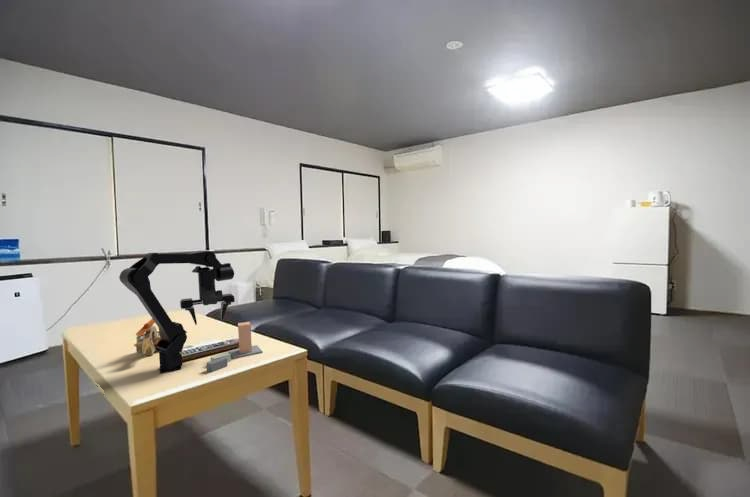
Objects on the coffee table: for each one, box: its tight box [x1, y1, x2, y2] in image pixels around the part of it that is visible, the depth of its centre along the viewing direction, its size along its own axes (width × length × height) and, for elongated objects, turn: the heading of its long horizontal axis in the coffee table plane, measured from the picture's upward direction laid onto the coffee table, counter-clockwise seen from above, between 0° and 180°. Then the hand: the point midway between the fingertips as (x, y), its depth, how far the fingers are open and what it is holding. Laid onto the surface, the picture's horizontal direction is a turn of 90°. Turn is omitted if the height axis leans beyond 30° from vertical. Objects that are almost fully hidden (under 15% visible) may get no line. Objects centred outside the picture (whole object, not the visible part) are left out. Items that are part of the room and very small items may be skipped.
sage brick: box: [210, 352, 232, 363], centre depth 130 cm, size 6×3×3 cm, turn 141°
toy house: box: [135, 318, 161, 357], centre depth 139 cm, size 8×21×14 cm, turn 18°
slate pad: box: [228, 345, 263, 360], centre depth 141 cm, size 11×9×1 cm
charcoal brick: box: [206, 357, 228, 373], centre depth 125 cm, size 6×3×3 cm, turn 147°
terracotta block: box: [237, 321, 253, 354], centre depth 140 cm, size 4×4×11 cm
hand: (209, 322), depth 138 cm, fingers open, 9 cm apart
